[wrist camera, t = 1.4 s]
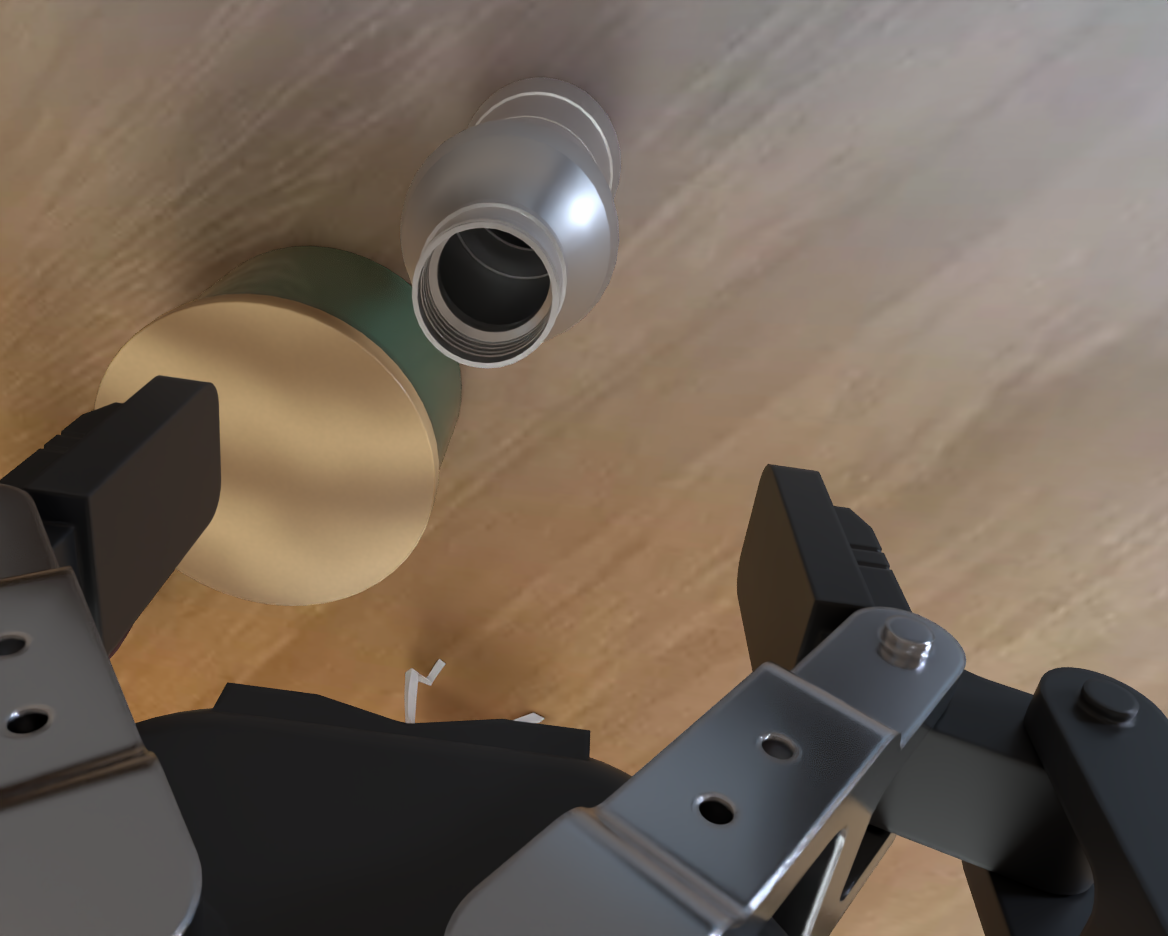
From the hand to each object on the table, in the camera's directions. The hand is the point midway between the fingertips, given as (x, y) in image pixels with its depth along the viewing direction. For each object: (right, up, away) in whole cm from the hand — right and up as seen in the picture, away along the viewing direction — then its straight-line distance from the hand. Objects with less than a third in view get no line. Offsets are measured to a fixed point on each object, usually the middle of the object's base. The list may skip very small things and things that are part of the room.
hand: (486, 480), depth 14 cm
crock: (-11, +4, +32) cm, 34 cm away
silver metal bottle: (0, +14, +27) cm, 30 cm away
